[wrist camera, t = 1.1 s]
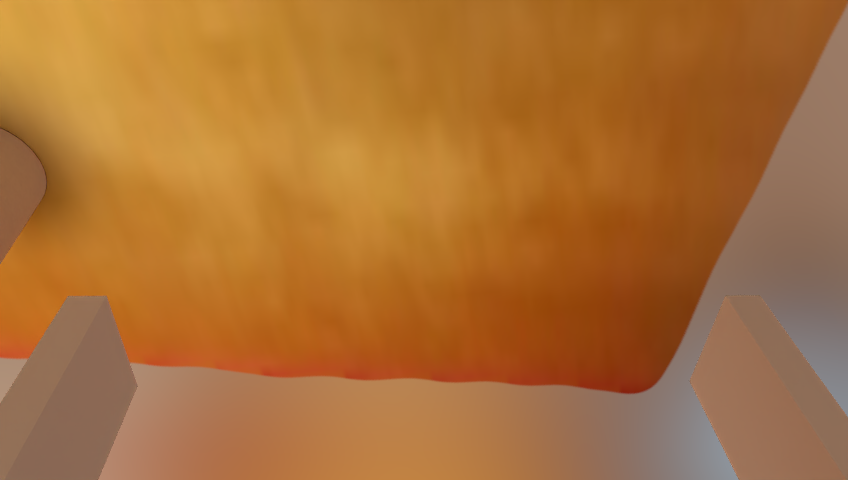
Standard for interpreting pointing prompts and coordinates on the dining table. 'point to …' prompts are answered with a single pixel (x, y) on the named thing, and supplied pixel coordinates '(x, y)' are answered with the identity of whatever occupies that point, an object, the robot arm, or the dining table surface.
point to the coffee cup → (17, 188)
